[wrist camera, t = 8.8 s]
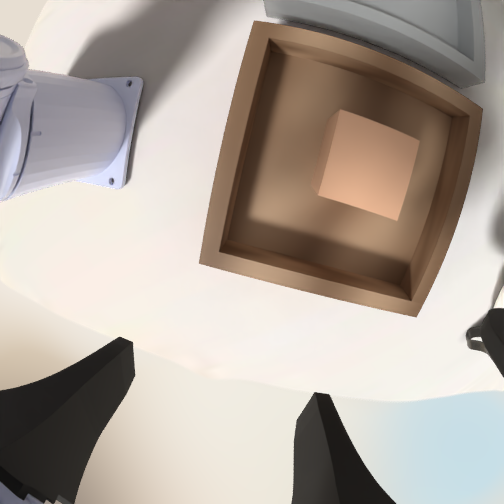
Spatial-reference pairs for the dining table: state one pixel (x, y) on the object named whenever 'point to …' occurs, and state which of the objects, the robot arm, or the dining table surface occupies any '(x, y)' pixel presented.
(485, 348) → the coffee press
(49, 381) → the robot arm
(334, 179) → the terracotta block
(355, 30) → the grey bin
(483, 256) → the dining table surface
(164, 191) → the dining table surface
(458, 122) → the walnut crate
